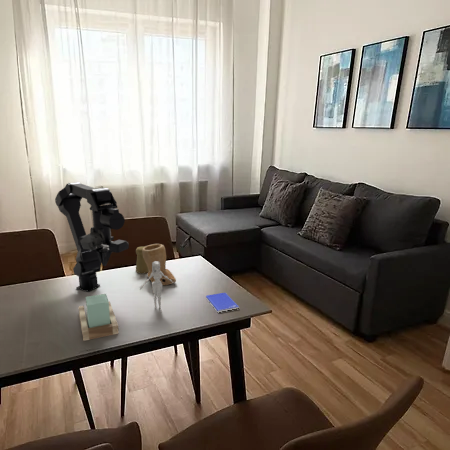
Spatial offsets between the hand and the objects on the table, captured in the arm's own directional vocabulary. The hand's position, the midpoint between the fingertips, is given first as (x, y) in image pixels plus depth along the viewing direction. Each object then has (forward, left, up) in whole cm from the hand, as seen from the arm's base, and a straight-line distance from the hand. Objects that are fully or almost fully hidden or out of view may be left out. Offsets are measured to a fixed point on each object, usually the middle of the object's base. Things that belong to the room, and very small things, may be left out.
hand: (104, 265), depth 133 cm
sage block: (+14, -19, -12) cm, 26 cm away
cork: (-5, +28, -13) cm, 31 cm away
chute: (+11, -16, -13) cm, 24 cm away
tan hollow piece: (+7, +23, -13) cm, 27 cm away
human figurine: (+22, +1, -13) cm, 26 cm away
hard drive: (+40, +16, -14) cm, 45 cm away
